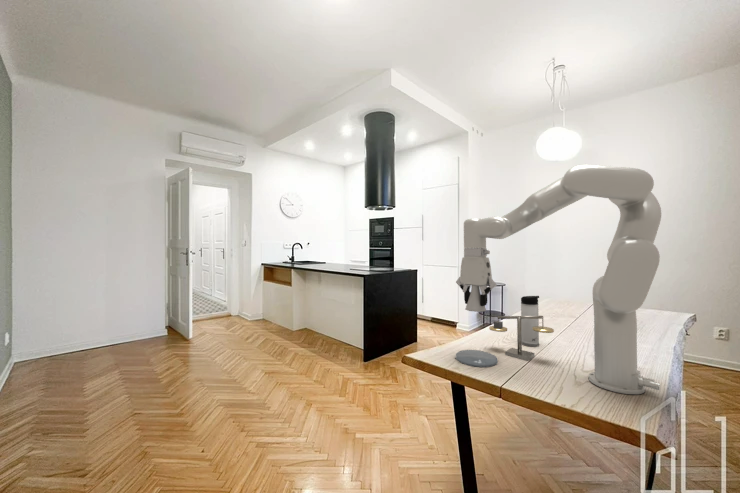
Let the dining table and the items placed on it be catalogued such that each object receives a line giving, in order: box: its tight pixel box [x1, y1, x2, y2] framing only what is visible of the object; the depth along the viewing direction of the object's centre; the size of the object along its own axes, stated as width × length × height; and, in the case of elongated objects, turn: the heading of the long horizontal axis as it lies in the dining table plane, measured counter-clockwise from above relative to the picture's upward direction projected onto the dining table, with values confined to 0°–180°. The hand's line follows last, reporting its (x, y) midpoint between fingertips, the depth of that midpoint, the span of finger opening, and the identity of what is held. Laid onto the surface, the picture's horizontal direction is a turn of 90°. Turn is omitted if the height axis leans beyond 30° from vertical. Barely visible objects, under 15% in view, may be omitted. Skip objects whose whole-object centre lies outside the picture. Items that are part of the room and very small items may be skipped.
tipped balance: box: [488, 315, 555, 361], centre depth 109 cm, size 22×6×16 cm, turn 42°
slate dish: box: [455, 349, 499, 368], centre depth 106 cm, size 14×14×1 cm
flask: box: [464, 285, 487, 313], centre depth 106 cm, size 7×7×10 cm
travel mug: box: [520, 295, 540, 348], centre depth 121 cm, size 6×7×20 cm
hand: (475, 303), depth 106 cm, fingers closed on flask, 5 cm apart
